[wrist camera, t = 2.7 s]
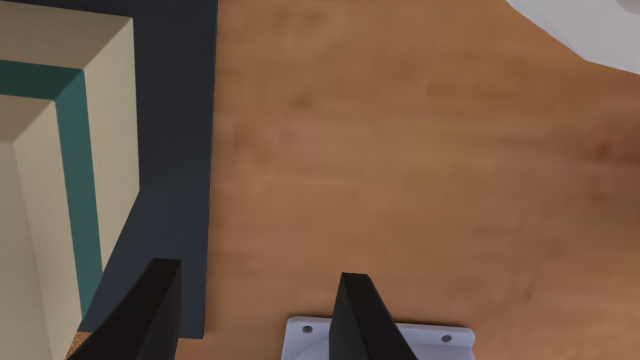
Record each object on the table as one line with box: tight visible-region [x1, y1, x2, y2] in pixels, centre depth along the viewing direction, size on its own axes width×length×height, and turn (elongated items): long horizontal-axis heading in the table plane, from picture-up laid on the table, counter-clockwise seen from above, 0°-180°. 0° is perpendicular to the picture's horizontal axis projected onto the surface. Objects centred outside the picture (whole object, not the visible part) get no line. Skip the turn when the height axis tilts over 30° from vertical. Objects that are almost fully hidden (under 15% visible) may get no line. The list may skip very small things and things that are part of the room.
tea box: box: [0, 1, 140, 360], centre depth 16 cm, size 5×7×9 cm, turn 172°
